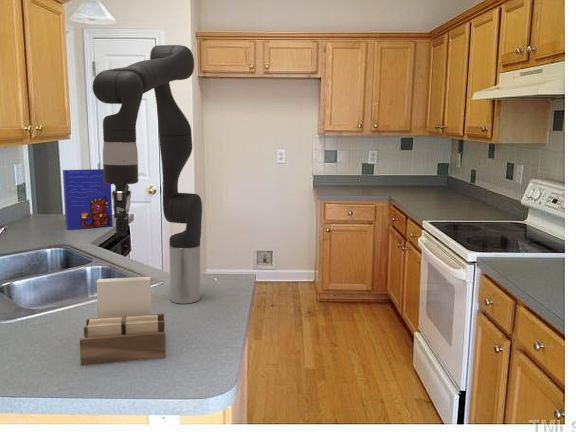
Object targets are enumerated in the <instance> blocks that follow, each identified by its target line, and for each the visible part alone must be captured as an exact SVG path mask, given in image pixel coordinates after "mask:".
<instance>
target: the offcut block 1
mask: <svg viewBox="0 0 576 432" xmlns="http://www.w3.org/2000/svg"><path fill="white" fill-rule="evenodd" d="M89 319H90V321H89V324H88V327H87V328H88V338H90V337H103V336H116V335H123V329H122V317H117V318H102V319H91V318H89Z"/></svg>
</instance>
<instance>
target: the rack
mask: <svg viewBox="0 0 576 432" xmlns="http://www.w3.org/2000/svg"><path fill="white" fill-rule="evenodd" d="M151 315H158V332H156V333H143V334H129V335H126V323H122V329H123V335H116V336H103V337H90V338H88V328H87V327H88V324H89V321H90V319H98V317H94V318H86V322H85V323H86V324H85V325H84V326H83V337H80V338H79V356H80V366H87V365H89V366H90V365H101V364H109V363H110V364H113V363H121V362H134V361H145V360H156V359H166V331H165V313H151Z"/></svg>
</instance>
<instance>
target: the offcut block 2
mask: <svg viewBox="0 0 576 432" xmlns="http://www.w3.org/2000/svg"><path fill="white" fill-rule="evenodd" d="M156 332H158V315H147V316H132V317H127V318H126V335H129V334H143V333H156Z"/></svg>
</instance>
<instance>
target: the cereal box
mask: <svg viewBox="0 0 576 432" xmlns="http://www.w3.org/2000/svg"><path fill="white" fill-rule="evenodd" d="M62 178H63V180H62V181H63V182H62V183H63V200H64V218H65V220H64V221H65V229H66V230H67V231H74V230H75V231H77V230H88V229H102V228H113V227H114V226H113V200H112V184H106V183H105V182H104V174H103V168H101V169H99V168H98V169H96V168H95V169H93V168H92V169H91V168H90V169H88V168H87V169H62Z"/></svg>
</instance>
